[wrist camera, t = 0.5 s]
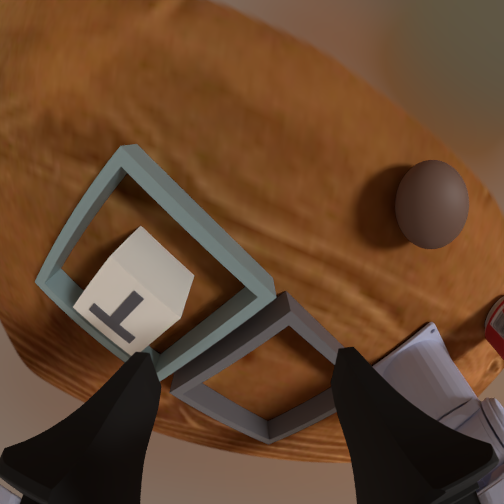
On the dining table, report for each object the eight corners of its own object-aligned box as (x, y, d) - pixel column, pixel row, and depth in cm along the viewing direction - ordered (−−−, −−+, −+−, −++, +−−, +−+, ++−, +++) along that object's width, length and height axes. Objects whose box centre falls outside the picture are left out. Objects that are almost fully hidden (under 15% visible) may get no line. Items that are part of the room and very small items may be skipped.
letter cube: (194, 274, 19) (180, 318, 15) (152, 313, 21) (133, 358, 16) (141, 225, 18) (109, 256, 13) (103, 270, 19) (71, 308, 14)
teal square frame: (273, 278, 19) (276, 297, 17) (162, 363, 23) (156, 384, 20) (136, 144, 16) (120, 146, 13) (50, 267, 19) (34, 282, 16)
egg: (370, 182, 17) (400, 195, 13) (431, 142, 16) (467, 148, 12) (401, 251, 19) (429, 276, 15) (455, 212, 18) (487, 229, 14)
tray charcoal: (367, 369, 24) (375, 388, 21) (267, 426, 27) (268, 444, 24) (285, 290, 20) (290, 310, 18) (174, 372, 23) (169, 392, 21)
